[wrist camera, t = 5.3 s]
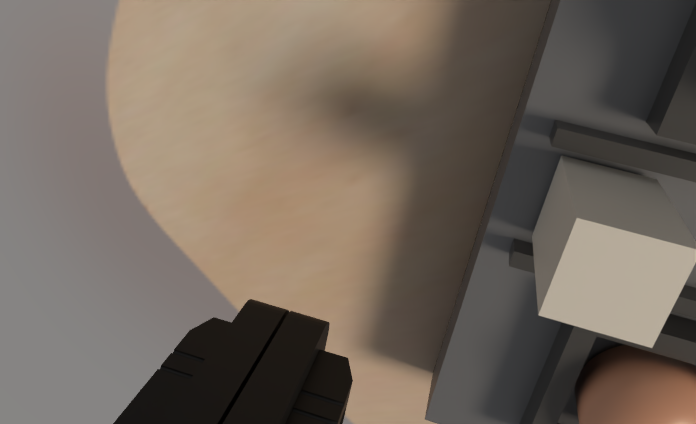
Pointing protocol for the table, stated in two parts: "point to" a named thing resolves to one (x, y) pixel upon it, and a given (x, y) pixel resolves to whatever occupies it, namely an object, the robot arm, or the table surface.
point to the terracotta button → (636, 389)
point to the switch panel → (531, 190)
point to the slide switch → (610, 252)
